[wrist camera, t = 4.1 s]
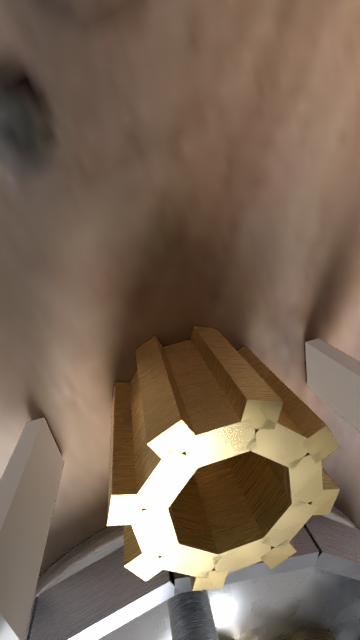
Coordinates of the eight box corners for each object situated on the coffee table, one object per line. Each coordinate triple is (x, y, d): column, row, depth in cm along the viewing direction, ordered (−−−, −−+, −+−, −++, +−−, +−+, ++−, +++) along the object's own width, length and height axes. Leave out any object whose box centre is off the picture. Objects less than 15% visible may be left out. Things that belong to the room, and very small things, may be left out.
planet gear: (167, 299, 13) (205, 359, 7) (284, 368, 15) (381, 454, 9) (86, 426, 14) (63, 565, 8) (206, 472, 16) (251, 603, 11)
